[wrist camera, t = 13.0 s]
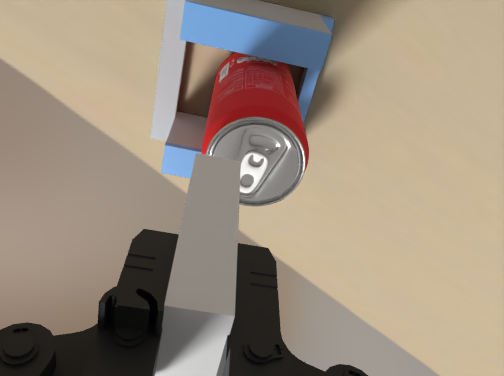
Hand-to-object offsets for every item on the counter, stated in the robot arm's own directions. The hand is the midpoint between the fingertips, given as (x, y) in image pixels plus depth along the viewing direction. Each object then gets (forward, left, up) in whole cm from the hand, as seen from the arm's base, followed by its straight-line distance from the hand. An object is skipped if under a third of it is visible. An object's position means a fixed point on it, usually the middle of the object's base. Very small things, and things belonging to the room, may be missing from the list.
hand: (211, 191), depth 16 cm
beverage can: (+2, +2, -18) cm, 18 cm away
